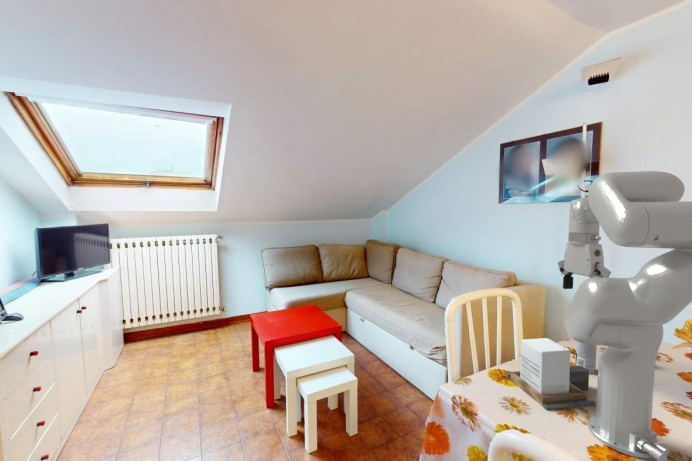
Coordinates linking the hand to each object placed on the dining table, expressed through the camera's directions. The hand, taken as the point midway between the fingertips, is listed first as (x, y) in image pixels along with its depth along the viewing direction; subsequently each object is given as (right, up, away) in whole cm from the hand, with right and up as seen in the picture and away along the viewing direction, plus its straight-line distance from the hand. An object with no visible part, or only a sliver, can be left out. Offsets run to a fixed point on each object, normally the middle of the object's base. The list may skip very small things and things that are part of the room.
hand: (580, 292), depth 95 cm
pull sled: (-11, -28, -4) cm, 31 cm away
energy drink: (+7, -28, +8) cm, 30 cm away
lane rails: (-14, -29, -5) cm, 32 cm away
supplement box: (-16, -29, -6) cm, 33 cm away
